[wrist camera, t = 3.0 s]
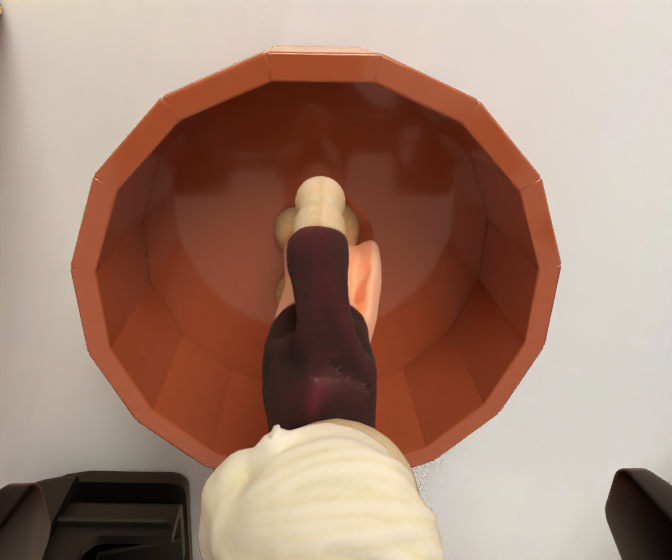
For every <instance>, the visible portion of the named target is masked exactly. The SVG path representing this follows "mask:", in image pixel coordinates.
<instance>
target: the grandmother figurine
mask: <svg viewBox="0 0 672 560" xmlns="http://www.w3.org/2000/svg"><path fill="white" fill-rule="evenodd" d="M295 205H296V207H292V208H288V209H286V210H284V211H282V212H281V213H280V214H279V215H278V217H277V218H276V220H275V223H274V238H275V241H276V244H277V246H278V247H279V249H280V250H281V251H283V252H284V273H285V275H283V276H282V277H281V278H280V280H279V282H278V285H277V287H276V292H275V299H276V302H277V304H278V308H277V312H276V316H275V320H274V321H273V323H272V325H271V327H270V330H269V333H268V336H267V338H266V342H265V345H264V354H263V361H262V380H263V384H262V394H263V402H264V407H265V412H266V416H267V422H268V434H266V435H264V436H263V438H262V439H261V440H260V441H259V443H258V444H257V445H256V446H255V447H253V448H247V449H243V450H238V451H236V452H235V453H233V454H231V455H230V456H229V457H227V458H226V459H225V460H224V461H223V462H222V463H221V464H220V465H219V466H218V467H217V468H216V469H215V471H214V472H213V473H212V474H211V476H210V477H209V478H208V480H207V481H206V483H205V485H204V487H203V490H202V494H201V516H200V521H199V528H198V541H199V549H200V553H201V557H202V560H444V559H445V557H444V552H443V548H442V545H441V539H440V533H439V530H438V527H437V522H436V515H435V514H434V512H433V511H432V510H431V509H430V508H429V507H428V506H427V505H426V504H425V503H424V502H423V501H422V499H421V497H420V494H419V489H418V486H417V482H416V479H415V476H414V473H413V471H412V469H411V467H410V465H409V463H408V462H407V460H406V458H405V457H404V455H403V454H402V453H401V451H400V450H399V449H398V447H397V446H396V445H395V444H394V443H393V442H392V441H391V440H390V439H389V438H387V437H386V436H385V435H383V434H382V433H380V432H379V431H377V430H376V429H375V421H376V401H377V369H376V362H375V358H374V354H373V351H372V348H371V345H370V343H371V339H372V335H373V332H374V328H375V324H376V320H377V314H378V306H379V299H380V292H381V281H382V275H381V258H380V250H379V247H378V245H377V244H376V243H375V242H374V241H372V240H369V241H365V242H363V243H361V244H360V245H357V246H356V244H357V242H358V239H359V221H358V218H357V215H356V214H355V213H354V211H353V210H352V209H351V208H350V207H349V206H348V205H346V204H345V195H344V192H343V190H342V188H341V186H340V185H339V184H338V183H337V182H336V181H335V180H333V179H331V178H329V177H324V176H317V177H312V178H310V179H307V180H306V181H305V182H303V184H302V185H301V186H300V188H299V189H298V191H297V195H296V198H295Z"/></svg>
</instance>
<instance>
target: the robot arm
mask: <svg viewBox="0 0 672 560" xmlns="http://www.w3.org/2000/svg"><path fill="white" fill-rule="evenodd" d="M605 513H606V519H607V522H608V525H609V528H610V530H611V533H612V535H613V538H614V540H615V543H616V546H617V548H618V551H619V553H620V556H621V558H622V560H672V485H671V484H669V483H668V482H666V481H665V480H663V479H661V478H660V477H658V476H657V475H655V474H654V473H652V472H651V471H649V470H647V469H644V468H622V469H619V470H618V471H617V472H616V473H615V476H614V479H613V482H612V486H611V489H610V492H609V495H608V499H607V502H606V506H605ZM50 531H51V522H50V517H49V514H48V510H47V507H46V503H45V500H44V497H43V493H42V490H41V488H40V486H39V485H38V484H36V483H12V484H8V485H6V486H5V487H3V488H2V489H0V560H42V558H43V555H44V552H45V549H46V546H47V543H48V540H49V536H50Z"/></svg>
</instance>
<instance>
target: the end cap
mask: <svg viewBox="0 0 672 560" xmlns="http://www.w3.org/2000/svg"><path fill="white" fill-rule="evenodd" d="M35 483H36V484H38V485H39V486H40V488H41V490H42V493H43V497H44V500H45V503H46V507H47V510H48V514H49V517H50V522H51V531H50V536H49V540H48V543H47V546H46V549H45V552H44V555H43V558H42V560H193V557H192V537H191V518H190V499H189V484H188V481H187V479H186V478H185V477H184V476H182V475H181V474H177V473H172V472H123V471H86V472H79V473H73V474H67V475H65V476H62V477H57V478H51V479H46V480H42V481H38V482H35Z"/></svg>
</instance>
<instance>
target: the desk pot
mask: <svg viewBox="0 0 672 560" xmlns="http://www.w3.org/2000/svg"><path fill="white" fill-rule="evenodd" d="M317 176H324V177H329V178H331V179H333V180H335V181H336V182H337V183H338V184H339V185H340V186H341V188H342V190H343V192H344V195H345V204H346V205H348V206H349V207H350V208H351V209H352V210H353V211H354V213H355V214H356V215H357V218H358V221H359V239H358V242H357V244H356V246H357V245H360V244H361V243H363V242H365V241H369V240H372V241H374V242H375V243H376V244H377V245H378V247H379V250H380V258H381V275H382V281H381V292H380V299H379V306H378V314H377V320H376V324H375V328H374V332H373V335H372V339H371V343H370V345H371V348H372V351H373V354H374V358H375V362H376V369H377V401H376V421H375V429H376V430H377V431H379V432H380V433H382V434H383V435H385V436H386V437H387V438H389V439H390V440H391V441H392V442H393V443H394V444H395V445H396V446H397V447H398V449H399V450H400V451H401V453H402V454H403V455H404V457H405V458H406V460H407V462H408V463H409V465H410V467H411V468H413V467H416V466H419V465H422V464H425V463H428V462H431V461H434V460H435V459H437V458H438V457H440V456H441V455H443V454H444V453H445V452H447V451H448V450H449V449H451V448H452V447H453V446H455V445H456V444H458V443H459V442H460V441H462V440H463V439H464V438H466V437H467V436H469V435H470V434H471V433H473V432H474V431H475V430H477V429H478V428H479V427H481V426H482V425H484V424H485V423H486V422H488V421H489V420H490V419H492V418H493V417H494V416H496V415H497V414H498V412H500V411H501V410H502V408H503V407H504V405H505V404H506V402H507V401H508V399H509V398H510V396H511V395H512V393H513V392H514V390H515V389H516V388H517V386H518V385H519V383H520V382H521V380H522V379H523V377H524V376H525V374H526V373H527V371H528V370H529V368H530V367H531V365H532V364H533V362H534V361H535V360H536V358H537V357H538V355H539V354H540V352H541V351H542V349H543V346H544V345H545V341H546V336H547V331H548V327H549V322H550V317H551V312H552V307H553V303H554V298H555V293H556V288H557V284H558V279H559V274H560V269H561V265H560V264H561V260H560V255H559V251H558V247H557V242H556V238H555V234H554V229H553V225H552V221H551V216H550V212H549V208H548V203H547V199H546V195H545V190H544V186H543V182H542V179H541V178H540V175H539V174H538V172H537V171H536V170H535V169H534V167H533V166H532V165H531V164H530V162H529V161H528V160H527V159H526V157H525V156H524V155H523V154H522V153H521V151H520V150H519V149H518V148H517V146H516V145H515V144H514V143H513V141H512V140H511V139H510V138H509V136H508V135H507V134H506V133H505V131H504V130H503V129H502V128H501V127H500V125H499V124H498V123H497V122H496V120H495V119H494V118H493V117H492V115H491V114H490V113H489V112H488V110H487V109H486V108H485V107H484V106H483V104H482V103H481V102H479V101H478V100H477V99H476V98H474V97H472V96H470V95H467V94H465V93H463V92H461V91H459V90H457V89H455V88H453V87H451V86H449V85H446V84H444V83H442V82H440V81H438V80H436V79H434V78H432V77H430V76H428V75H426V74H423V73H421V72H419V71H417V70H415V69H413V68H411V67H409V66H407V65H405V64H403V63H400V62H398V61H396V60H394V59H392V58H390V57H388V56H386V55H384V54H380V53H377V52H374V51H371V50H367V49H363V48H360V47H299V46H277V47H272V48H270V49H267V50H265V51H263V52H260V53H258V54H256V55H254V56H251V57H249V58H247V59H244V60H242V61H240V62H238V63H235V64H233V65H231V66H229V67H226V68H224V69H222V70H219V71H217V72H215V73H213V74H210V75H208V76H206V77H203V78H201V79H199V80H197V81H195V82H192V83H190V84H188V85H186V86H184V87H181V88H179V89H177V90H175V91H173V92H171V93H168V94H166V95H164V97H163V98H160V99H159V100H158V101H157V102H156V104H155V105H154V106H153V107H152V108H151V109H150V111H149V112H148V113H147V114H146V115H145V116H144V117H143V119H142V120H141V121H140V122H139V123H138V124H137V126H136V127H135V128H134V129H133V130H132V131H131V133H130V134H129V135H128V136H127V137H126V138H125V140H124V141H123V142H122V143H121V144H120V145H119V147H118V148H117V149H116V150H115V151H114V152H113V153H112V155H111V156H110V157H109V158H108V159H107V160H106V162H105V163H104V164H103V165H102V166H101V167H100V169H99V170H98V171H97V172H96V173H95V177H94V178H93V179H92V183H91V187H90V191H89V195H88V199H87V203H86V207H85V211H84V215H83V219H82V223H81V227H80V231H79V235H78V239H77V243H76V247H75V251H74V255H73V258H72V262H71V273H72V278H73V283H74V288H75V293H76V297H77V302H78V307H79V312H80V316H81V321H82V326H83V331H84V336H85V340H86V345H87V350H88V352H89V354H90V356H91V358H92V359H93V360H94V362H95V363H96V365H97V366H98V367H99V369H100V370H101V372H102V373H103V374H104V376H105V377H106V379H107V380H108V381H109V383H110V384H111V386H112V387H113V388H114V390H115V391H116V393H117V394H118V395H119V397H120V398H121V400H122V401H123V402H124V404H125V405H126V407H127V408H128V409H129V411H130V412H131V414H132V415H133V416H134V418H135V419H136V420H138V422H139V423H141V424H142V425H144V426H145V427H147V428H148V429H150V430H151V431H153V432H154V433H156V434H157V435H159V436H160V437H162V438H163V439H165V440H166V441H168V442H169V443H171V444H172V445H174V446H175V447H177V448H178V449H180V450H181V451H183V452H184V453H186V454H187V455H189V456H190V457H192V458H193V459H195V460H196V461H198V462H199V463H201V464H202V465H204V466H206V467H209V468H213V469H216V468H217V467H218V466H219V465H220V464H221V463H222V462H223V461H224V460H225V459H226V458H227V457H229V456H230V455H231V454H233V453H235V452H236V451H238V450H243V449H247V448H253V447H255V446H256V445H257V444H258V443H259V441H260V440H261V439H262V438H263V436H264V435H266V434H268V422H267V416H266V412H265V407H264V402H263V394H262V384H263V380H262V361H263V354H264V345H265V342H266V338H267V336H268V333H269V330H270V327H271V325H272V323H273V321H274V320H275V316H276V312H277V308H278V304H277V302H276V299H275V292H276V287H277V285H278V282H279V280H280V278H281V277H282V276H283V275H285V273H284V252H283V251H281V250H280V249H279V247H278V246H277V244H276V241H275V238H274V223H275V220H276V218H277V217H278V215H279V214H280V213H281V212H282V211H284V210H286V209H288V208H292V207H296V205H295V198H296V195H297V191H298V189H299V188H300V186H301V185H302V184H303V182H305V181H306V180H307V179H310V178H312V177H317Z"/></svg>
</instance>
